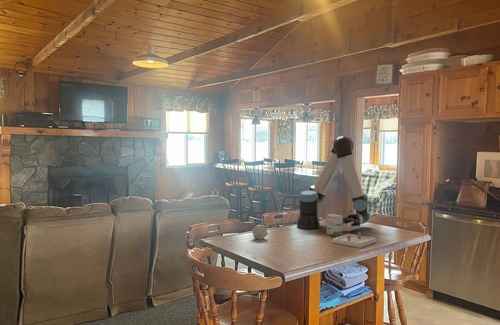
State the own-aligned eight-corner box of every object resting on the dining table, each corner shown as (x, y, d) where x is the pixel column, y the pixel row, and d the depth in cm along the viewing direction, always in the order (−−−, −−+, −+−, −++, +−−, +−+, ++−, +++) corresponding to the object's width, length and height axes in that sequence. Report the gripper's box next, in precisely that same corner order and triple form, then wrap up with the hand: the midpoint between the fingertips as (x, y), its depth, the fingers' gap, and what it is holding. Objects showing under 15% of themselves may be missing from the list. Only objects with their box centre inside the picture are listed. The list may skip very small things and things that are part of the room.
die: (270, 240, 213) (267, 224, 218) (265, 235, 206) (262, 219, 211) (257, 244, 214) (254, 229, 220) (251, 240, 207) (248, 224, 213)
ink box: (343, 235, 224) (343, 215, 224) (337, 236, 221) (338, 216, 221) (331, 233, 231) (331, 213, 230) (326, 234, 227) (326, 214, 227)
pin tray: (332, 242, 205) (332, 234, 205) (349, 237, 218) (349, 229, 218) (360, 247, 194) (360, 238, 194) (375, 242, 207) (375, 233, 207)
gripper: (373, 228, 234) (357, 233, 218) (336, 222, 250) (319, 227, 235) (373, 215, 233) (357, 220, 218) (337, 211, 250) (319, 215, 234)
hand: (337, 223), depth 226 cm, fingers open, 13 cm apart
